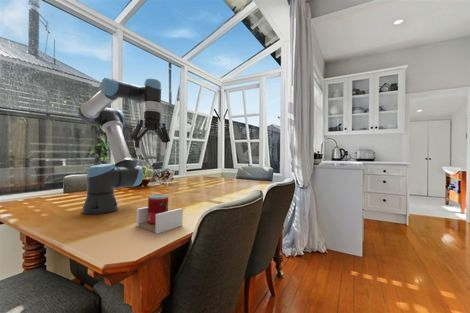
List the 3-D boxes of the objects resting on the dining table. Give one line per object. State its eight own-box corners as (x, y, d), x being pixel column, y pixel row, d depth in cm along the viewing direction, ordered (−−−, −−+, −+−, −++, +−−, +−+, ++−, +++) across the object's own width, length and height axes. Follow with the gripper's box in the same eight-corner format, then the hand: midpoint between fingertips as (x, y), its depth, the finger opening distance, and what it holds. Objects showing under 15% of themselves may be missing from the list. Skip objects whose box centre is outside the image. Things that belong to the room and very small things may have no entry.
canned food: (161, 226, 87) (162, 198, 87) (143, 224, 89) (144, 196, 88) (171, 220, 94) (171, 194, 94) (154, 218, 96) (155, 193, 96)
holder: (136, 225, 90) (136, 208, 90) (161, 219, 100) (161, 203, 100) (157, 233, 82) (158, 214, 82) (182, 225, 92) (182, 208, 92)
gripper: (132, 105, 94) (131, 155, 95) (177, 115, 115) (176, 155, 115) (123, 107, 99) (122, 154, 99) (168, 116, 119) (167, 155, 120)
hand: (151, 155), depth 107 cm, fingers open, 13 cm apart
